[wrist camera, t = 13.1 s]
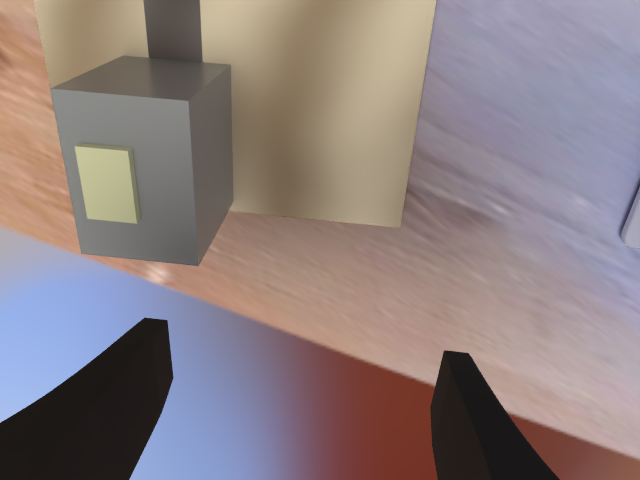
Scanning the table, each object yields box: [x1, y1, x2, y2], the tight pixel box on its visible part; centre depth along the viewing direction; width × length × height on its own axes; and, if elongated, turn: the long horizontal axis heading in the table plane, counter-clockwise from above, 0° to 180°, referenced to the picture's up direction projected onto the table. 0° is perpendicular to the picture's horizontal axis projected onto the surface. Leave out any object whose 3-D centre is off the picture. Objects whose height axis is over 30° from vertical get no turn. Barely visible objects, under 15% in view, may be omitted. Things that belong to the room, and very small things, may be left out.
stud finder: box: [50, 56, 234, 266], centre depth 18 cm, size 4×6×5 cm
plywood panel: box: [34, 0, 436, 228], centre depth 20 cm, size 14×12×1 cm
